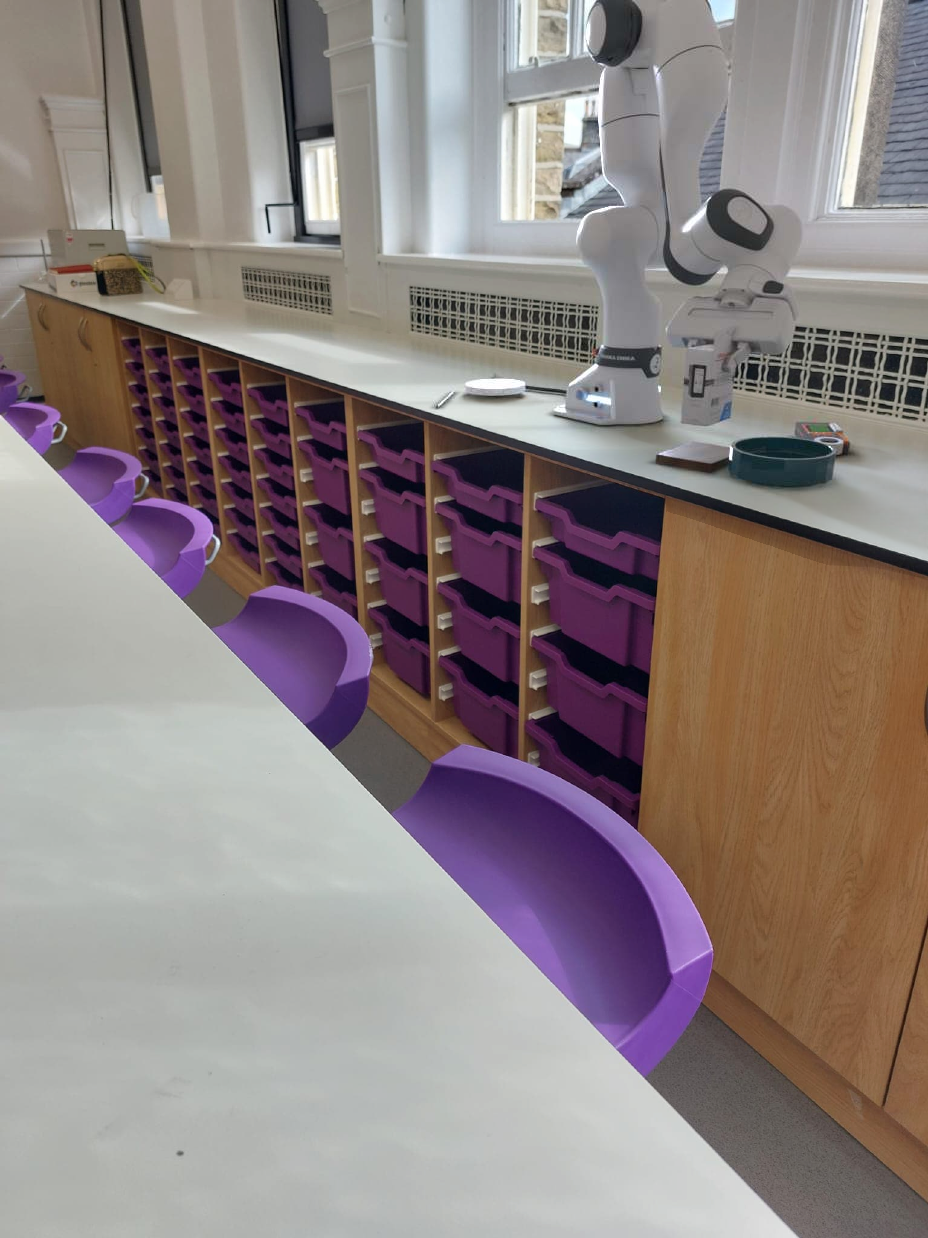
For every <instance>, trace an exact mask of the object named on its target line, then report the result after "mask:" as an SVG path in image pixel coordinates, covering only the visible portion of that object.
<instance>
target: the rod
mask: <svg viewBox="0 0 928 1238" xmlns="http://www.w3.org/2000/svg"><path fill="white" fill-rule="evenodd" d="M455 393H456V392H455V390H451V392H449V393H448V394H447V395H446V396H445V397H444V398H443V399H442V400H441V401H440V402H439V403H437V404H436V406H435V408H436V409H439V408H440V407H442V406H443V405H444V404H445V403H446V402H447V401H448V400H449V399H450V398H451V397H453V395H454V394H455Z"/></svg>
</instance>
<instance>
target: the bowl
mask: <svg viewBox="0 0 928 1238" xmlns="http://www.w3.org/2000/svg"><path fill="white" fill-rule="evenodd" d="M729 447H730V456H729V465H728V466H727V471H728V473H729V474H730V475H731V476H733V477H734V478H736V479H739V480H741V481H744V482H747V483H749V484H754V485H758V486H764V487H773V488H786V489H787V488H788V489H790V488H791V489H793V488H794V489H796V488H797V489H798V488H807V487H808V488H809V487H814V486H818V485H822V484H826V483H827V482H829V481H832V480H833V479H832V478H833V476H834V469H835V464H836V458H837V455H836V452H837V450H836V449H835V448H834V447H833V446H830V445H828V444H825V443H822V442H818V441H813V440H808V439H801V438H797V437H791V436H752V437H745V438H739V439H737V440H735V441H733V442H732V443H731V444H730V446H729Z"/></svg>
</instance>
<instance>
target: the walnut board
mask: <svg viewBox="0 0 928 1238" xmlns="http://www.w3.org/2000/svg"><path fill="white" fill-rule="evenodd" d="M730 447H731V446H725V445H718V444H712V443H705V442H698V441H690V442H688V443H685V444H683V445H679V446H676V447H673V448H670V449H668V450H664V451H662V452H658V453H656V455H655V464H659V465H663V466H670V467H675V468H681V469H686V470H692V471H698V472H704V473H709V474H712V473H713V472H716V471H719V470H721V469H724V468H726V467H728V465H729V456H730Z"/></svg>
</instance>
